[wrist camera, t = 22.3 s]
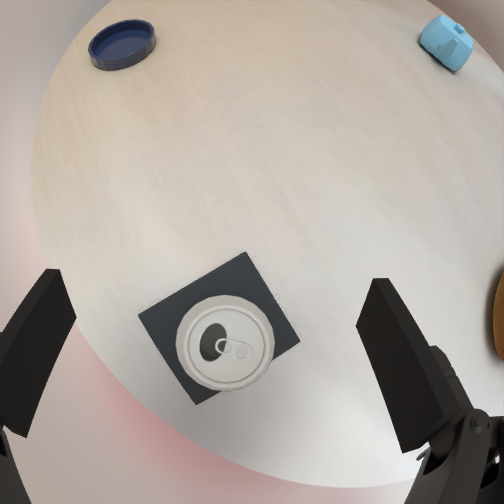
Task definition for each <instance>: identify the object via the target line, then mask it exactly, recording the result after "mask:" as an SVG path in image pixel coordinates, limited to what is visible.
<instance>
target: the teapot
mask: <svg viewBox="0 0 504 504" xmlns="http://www.w3.org/2000/svg"><path fill="white" fill-rule="evenodd" d="M420 43H421V44H422V45H423V46H424V49H425V50H426V51H428V52H429V53H432V54H433V55H434V56H435V57H436V58H437V59H439V60H440V61H441V63H442V64H443V65H444V66H445V67H449V68H450V69H451V70H453V71H455V70H458V69H460V68H461V67H462V66H463V65H464V64H465V62H466V61H467V59H468V58H469V56H470V54H471V52H472V49H473V40H472V39H471V38H470V36H469V35H468V34H466V33H465V29H464V28H463V27H462V26H461V25H460V24H458V23H456V24H455V23H454V22H453V21H452V20H450V19H449V18H448V17H446V16H445V15H440V16H438V17H437V18H435V19H433V20H432V21H431V22H430V23H429V24H428V25H427V26H426V27H425V28H424V29H423V31H422V33H421V37H420Z"/></svg>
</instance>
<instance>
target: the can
mask: <svg viewBox="0 0 504 504" xmlns="http://www.w3.org/2000/svg"><path fill="white" fill-rule="evenodd" d="M274 346H275V340H274V335H273V329H272V326H271V325H270V323H269V321H268V319H267V317H266V315H265V314H264V313H263V312H262V311H261V310H260V309H259V308H258V307H257V306H256V305H255V304H253V303H251V302H249V301H247V300H245V299H243V298H241V297H235V296H228V295H221V296H215V297H209V298H207V299H205V300H203V301H201V302H199V303H197V304H195V305H194V306H193V307H192V308H191V309H190V310H189V311H188V312H187V313H186V314H185V315H184V317H183V319H182V321H181V323H180V325H179V328H178V330H177V338H176V349H177V354H178V359H179V361H180V363H181V365H182V366H183V368H184V370H185V371H186V373H187V374H188V375H189V376H190V377H191V378H193V379H194V380H195V381H196V382H197V383H198V384H201V385H203V386H205V387H207V388H210V389H212V390H220V391H232V390H237V389H242V388H244V387H246V386H248V385H250V384H252V383H254V382H255V381H257V380H258V379H259V378H260V377H261V375H262V374H263V373H264V372H265V371H266V370H267V368H268V366H269V364H270V362H271V360H272V358H273V353H274Z"/></svg>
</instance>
